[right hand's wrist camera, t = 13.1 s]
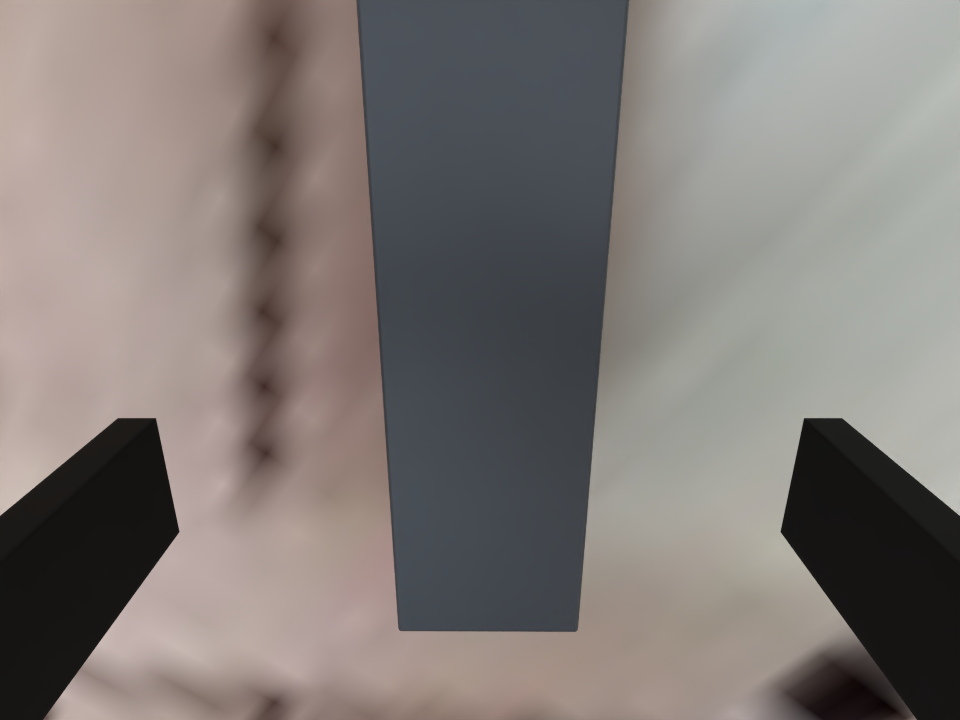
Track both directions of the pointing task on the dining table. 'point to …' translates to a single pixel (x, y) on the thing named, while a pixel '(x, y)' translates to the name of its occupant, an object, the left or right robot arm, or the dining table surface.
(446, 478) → the bar
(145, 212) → the dining table surface
